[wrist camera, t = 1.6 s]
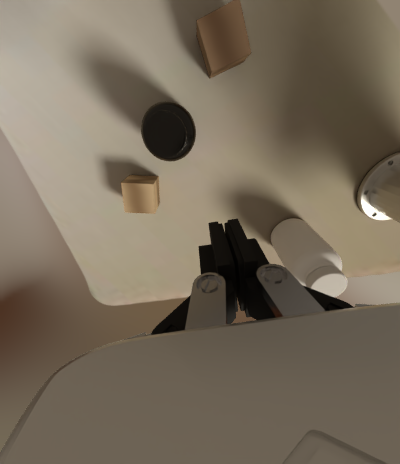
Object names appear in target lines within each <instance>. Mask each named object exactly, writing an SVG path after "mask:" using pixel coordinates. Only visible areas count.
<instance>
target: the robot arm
mask: <svg viewBox="0 0 400 464" xmlns="http://www.w3.org/2000/svg"><path fill="white" fill-rule="evenodd" d="M357 202H358V206H359V208H360V210H361V211H362V212H363V213H364V214H365V215H367V216H368V217H370V218H372V219H376V220H389V219H393V220H395V221H397V222H399V223H400V152H398V153H395V154H393V155H390V156H388V157H386V158H385V159H383V160H382V161H380V162H379V163H378V164H377V165H375V166H374V167H373V168H372V169H371V170H370V171H369V172H368V174H367V175H366V176H365V178H364V179H363V181H362V183H361V185H360V187H359V190H358V195H357ZM209 230H210V238H211V245H204V246H199V256H200V268H201V275H199V276H198V277H197V278H196V279H195V280H194V282H193V286H192V292H191V295H190V296H189V297H188V298H187V299H186V300H185V301H184V302H183V303H182V304H180V305H179V306H178V307H177V308H176V309H175V310H174V311H173V312H172V313H171V314H170V315H168V316H167V317H166V318H165V319H164V320H163V321H162V322H161V323H160V324H158V325H157V326H156V328H155V329H154V330H153V331H152V333H150V334H147V335H146V333H142V334H139V335H136V336H133V337H130V338H127V339H124V340H122V341H118V342H114V343H110V344H107V345H104V346H101V347H99V348H96V349H93V350H91V351H89V352H87V353H85V354H82V355H80V356H78V357H76V358H75V359H73V360H71V361H69V362H68V363H66V364H65V365H64V366H62V367H60V368H59V369H58V370H57V371H56V372H55V373H53V374H52V375H51V376H50V377H49V378H48V380H47V381H46V382H45V383H44V384H43V385H42V387H41V388H40V389H39V391H38V392H37V393H36V395H35V396H34V398H33V399H32V401H31V402H30V404H29V405H28V407H27V408H26V410H25V412H24V413H23V415H22V416H21V418H20V419H19V421H18V423H17V424H16V426H15V428H14V429H13V431H12V433H11V434H10V436H9V438H8V440H7V441H6V443H5V445H4V447H3V448H2V450H1V452H0V464H400V303H391V304H381V305H365V304H355V307H353V306H351V305H350V304H348V303H346V302H344V301H342V300H339V299H337V298H334V297H332V296H329V295H326V294H324V293H321V292H319V291H316V290H314V289H311V288H308V287H306V286H303V285H301V283H300V282H299V281H298V280H297V279H296V278H295V277H294V276H293V275H292V274H291V272H290V271H289V270H287V269H286V268H285V267H283V266H281V265H277V264H269V262H268V260H267V258H266V257H265V255H264V253H263V251H262V249H261V248H260V246H259V244H258V242H257V240H256V239H255V238H253V239H247V237H246V235H245V233H244V231H243V229H242V227H241V225H240V223H239V221H238V219H232V220H228V223H225V232H224V229H223V225H222V224H218V222H211V223H209ZM237 299H238V302H239V305H240V309H241V311H244V310H245V313H246V317H253V318H254V319H256V320H255V321H248V322H241V323H233V324H231V323H232V322H233V321H234V319H235V318H236V312H237V311H238V305H237Z"/></svg>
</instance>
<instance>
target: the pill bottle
mask: <svg viewBox="0 0 400 464" xmlns="http://www.w3.org/2000/svg"><path fill="white" fill-rule="evenodd" d="M271 243H272V246H273V247H274V249H275V251H276V253H277V254H278V256H279V258H280V259H281V261H282V263H283V265H284V266H285V268H286V269H287V270H289V271H290V272H291V274H292V275H293V276H294V277H295V278H296V279H297V280H298V281H299V282H300V283H301V285H303V286H306V287H308V288H311V289H314V290H316V291H319V292H321V293H324V294H326V295H329V296H332V297H336V296H338V295H340V294H341V293H342V292H343V291H344V290H345V289H346V287H347V283H348V281H347V278H346V276H345V275H344V274H343V273H342V272H341V270H342V261H341V258H340V256H339V255H338V253H337V252H336V251H335V250H334V249H333V248H332V247H331V246H330V245H329V244H328V243H327V242H326V241H325V240H323V239H322V238H321V237H320V236H319V235H318V234H317V233H316V232H315V231H314V230H313V229H312V228H311V227H310V226H309V225H308V224H307V223H306V222H304V221H303V220H300V219H296V218H292V219H287V220H284V221H282V222H280V223H279V224H278V225H277V226H276V227H275V228H274V229H273V231H272V234H271Z"/></svg>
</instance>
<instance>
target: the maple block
mask: <svg viewBox="0 0 400 464" xmlns="http://www.w3.org/2000/svg"><path fill="white" fill-rule="evenodd" d="M121 187H122V194H123V202H124V209H125V212H129V213H152V214H155V213H156V210H157V208H158V206H159V203H160V200H159V176H142V175H129V176H128V177H127V178H126V179H125V180H123V181H122V182H121Z"/></svg>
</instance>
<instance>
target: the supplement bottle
mask: <svg viewBox="0 0 400 464" xmlns="http://www.w3.org/2000/svg"><path fill="white" fill-rule="evenodd" d="M141 134H142V138H143V141H144V144H145V146H146V147H147V149H148V150H149V151H150V152H151V153H152V154H153V155H154V156H155V157H157V158H159V159H161V160H164V161H177V160H179V159H182V158H183V157H185V156H186V155H187V154H188V153H189V152H190V151H191V149H192V147H193V145H194V142H195V137H196V129H195V124H194V121H193V118H192V116H191V115H190V113H189V112H188V111H187V110H186V109H185V108H184V107H182V106H181V105H179V104H177V103H174V102H169V101H164V102H159V103H157V104H155V105H153V106H152V107H150V108H149V109H148V111H147V112H146V113H145V115H144V117H143V120H142V125H141Z"/></svg>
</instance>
